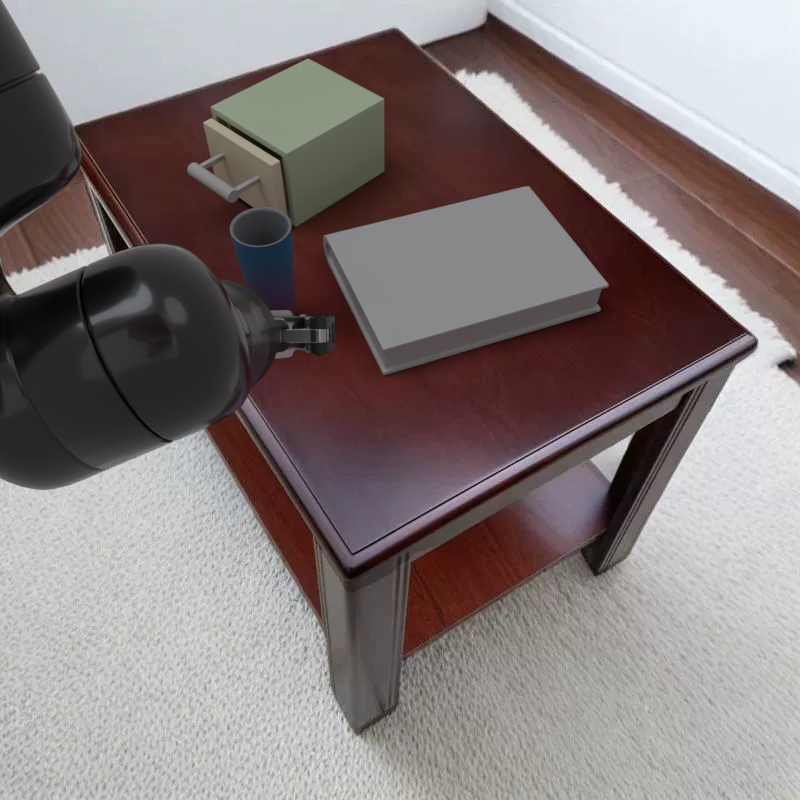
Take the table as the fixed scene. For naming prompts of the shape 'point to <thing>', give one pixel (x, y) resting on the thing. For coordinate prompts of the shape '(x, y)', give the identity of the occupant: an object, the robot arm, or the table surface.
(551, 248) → the book
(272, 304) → the cup
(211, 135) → the drawer
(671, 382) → the table surface
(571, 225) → the table surface
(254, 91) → the cabinet
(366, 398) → the table surface
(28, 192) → the robot arm
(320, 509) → the table surface
